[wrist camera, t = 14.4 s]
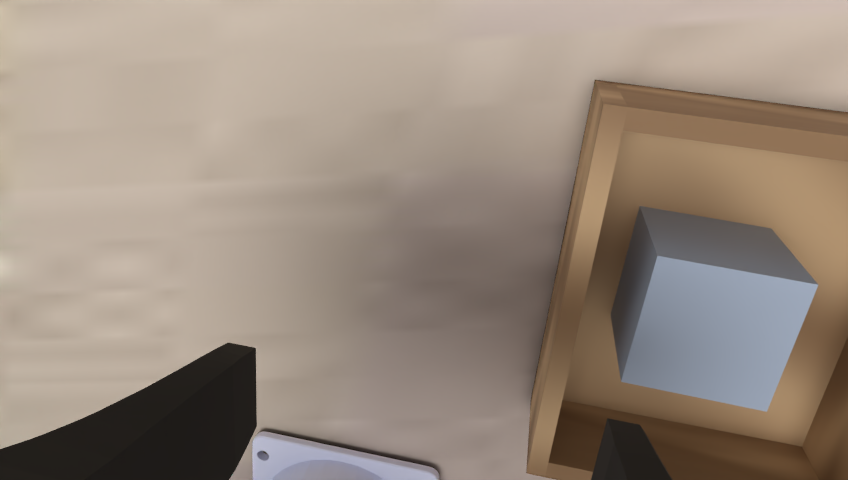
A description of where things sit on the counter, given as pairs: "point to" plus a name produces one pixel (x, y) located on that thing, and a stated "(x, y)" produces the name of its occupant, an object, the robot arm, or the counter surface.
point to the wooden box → (714, 198)
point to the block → (708, 308)
